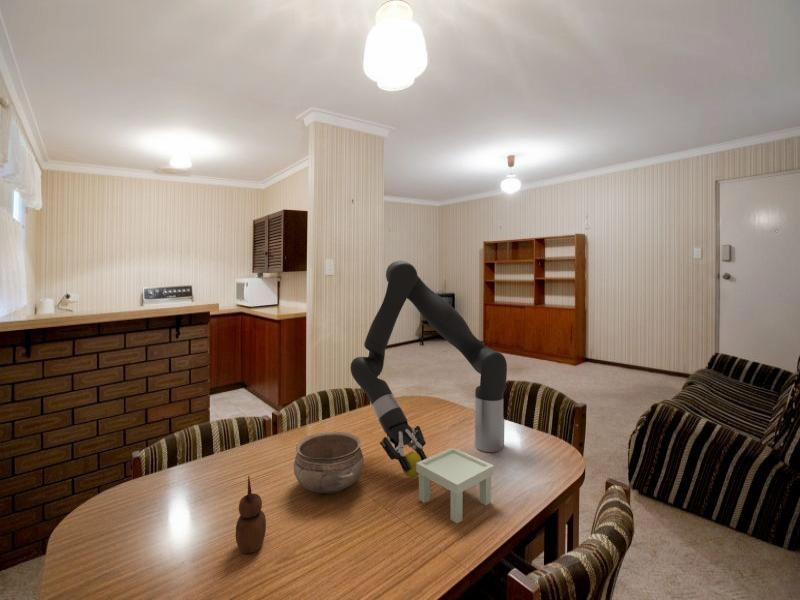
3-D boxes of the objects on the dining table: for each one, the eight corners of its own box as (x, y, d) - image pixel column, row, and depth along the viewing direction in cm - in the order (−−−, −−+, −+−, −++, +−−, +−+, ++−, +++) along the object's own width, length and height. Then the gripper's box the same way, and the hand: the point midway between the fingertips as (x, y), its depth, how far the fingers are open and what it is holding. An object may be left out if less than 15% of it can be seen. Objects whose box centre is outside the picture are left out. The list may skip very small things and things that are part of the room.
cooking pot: (282, 477, 114) (281, 436, 113) (342, 460, 124) (341, 422, 123) (312, 523, 93) (312, 472, 92) (382, 498, 103) (381, 452, 102)
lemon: (420, 485, 108) (420, 456, 107) (401, 483, 109) (400, 455, 108) (423, 474, 113) (423, 447, 113) (404, 472, 114) (404, 446, 114)
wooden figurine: (242, 537, 88) (240, 472, 87) (269, 536, 88) (267, 471, 87) (232, 559, 81) (230, 489, 80) (261, 557, 82) (259, 487, 81)
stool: (452, 481, 111) (452, 447, 111) (493, 502, 101) (493, 465, 100) (416, 499, 102) (416, 462, 102) (457, 525, 92) (457, 484, 91)
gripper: (375, 412, 111) (403, 469, 103) (413, 401, 120) (441, 453, 112) (364, 425, 115) (390, 481, 107) (402, 413, 124) (428, 464, 116)
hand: (416, 466), depth 109 cm, fingers closed on lemon, 5 cm apart
